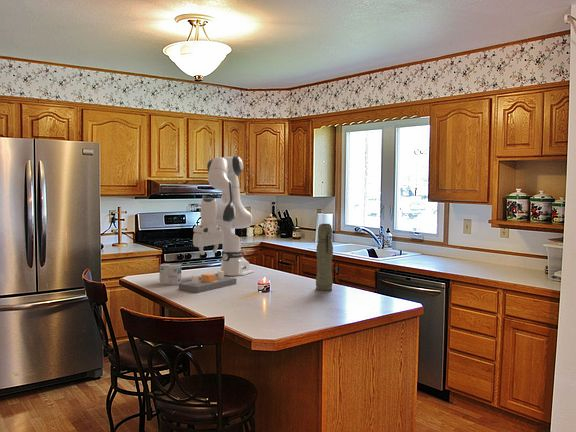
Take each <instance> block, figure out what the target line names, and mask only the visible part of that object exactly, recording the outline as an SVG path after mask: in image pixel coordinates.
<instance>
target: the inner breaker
mask: <svg viewBox="0 0 576 432" xmlns="http://www.w3.org/2000/svg"><path fill="white" fill-rule="evenodd" d="M217 276H218V279H224V277H225V275H224V271H220V270H218V271H217Z"/></svg>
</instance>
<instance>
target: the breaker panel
mask: <svg viewBox="0 0 576 432" xmlns="http://www.w3.org/2000/svg"><path fill="white" fill-rule="evenodd" d="M232 285H233V286H234V285H237V278H234V277H231V276H230V277H229V276H224V279H218V275H216V281H211V282H204V281H201V279H200V278H198V284H192V280H190V281H185V282H181V283H179V284H178V290H180V291H181V290H182V291H186V292H191V293H203V292H206V291H211V290H216V289H220V288H221V289H222V288H225V287H229V286H232Z"/></svg>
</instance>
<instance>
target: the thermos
mask: <svg viewBox="0 0 576 432" xmlns="http://www.w3.org/2000/svg"><path fill="white" fill-rule="evenodd" d="M332 239H333V228H332V224H330V223H320V224H319V225H318V228H317V244H316V248H315V249H316V251H315V252H316V276H315V290H316V291H320V292H329V291H332V290H333V277H334V276H333V273H332V271H333V264H332V263H333V257H334V251H333V250H334V247H333V246H334V245H333V242H332Z"/></svg>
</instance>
